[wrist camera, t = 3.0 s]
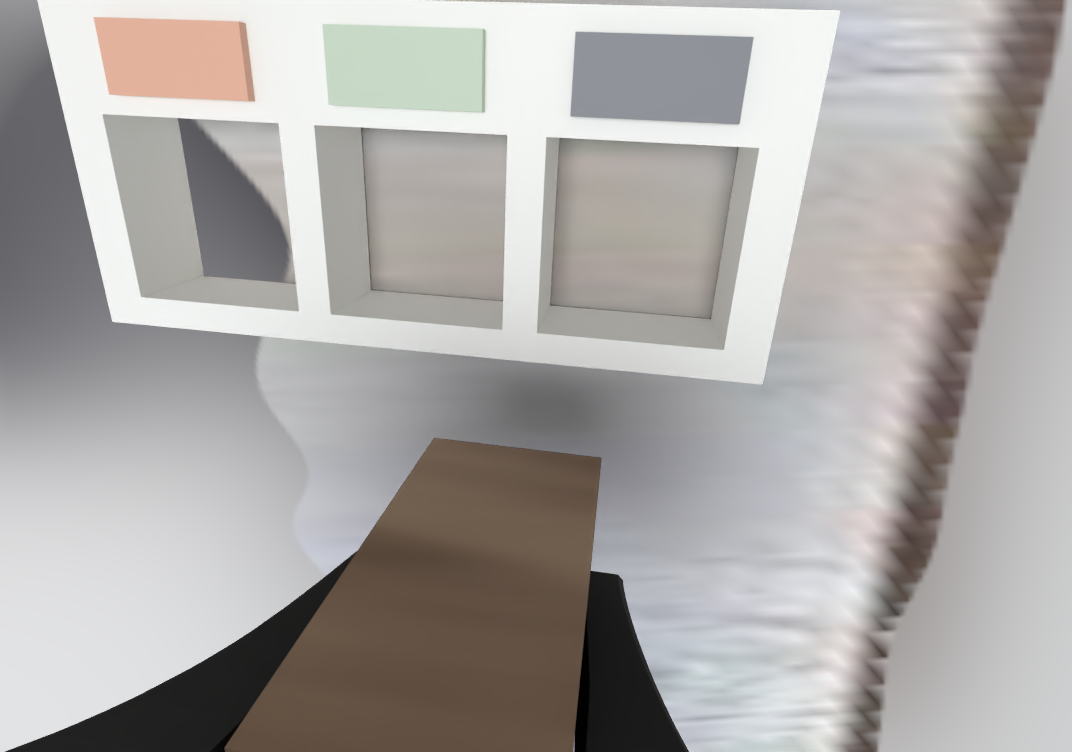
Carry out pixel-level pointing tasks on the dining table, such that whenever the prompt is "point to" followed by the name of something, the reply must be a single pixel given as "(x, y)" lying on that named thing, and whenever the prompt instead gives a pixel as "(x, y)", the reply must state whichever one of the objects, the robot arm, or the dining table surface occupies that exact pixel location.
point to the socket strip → (446, 106)
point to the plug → (448, 616)
